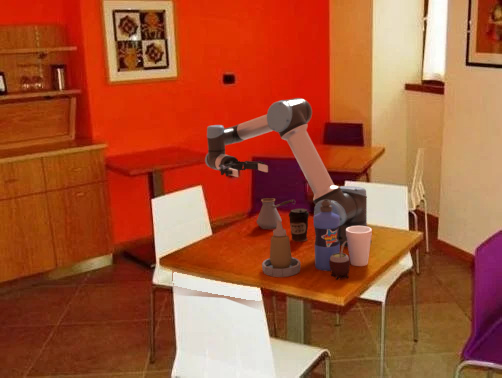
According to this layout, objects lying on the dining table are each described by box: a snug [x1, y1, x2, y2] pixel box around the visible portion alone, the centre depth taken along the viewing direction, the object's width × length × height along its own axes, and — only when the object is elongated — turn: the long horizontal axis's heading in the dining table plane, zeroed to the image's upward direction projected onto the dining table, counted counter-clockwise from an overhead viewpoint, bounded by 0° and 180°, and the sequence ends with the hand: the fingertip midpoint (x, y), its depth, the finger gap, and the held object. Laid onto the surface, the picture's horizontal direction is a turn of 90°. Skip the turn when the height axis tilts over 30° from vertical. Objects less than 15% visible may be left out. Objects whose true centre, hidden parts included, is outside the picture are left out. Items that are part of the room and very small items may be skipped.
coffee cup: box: [288, 208, 310, 242], centre depth 253 cm, size 9×8×13 cm
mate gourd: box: [329, 240, 351, 281], centre depth 209 cm, size 8×8×15 cm
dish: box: [261, 256, 302, 278], centre depth 220 cm, size 14×14×3 cm
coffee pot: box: [256, 197, 296, 230], centre depth 270 cm, size 21×12×15 cm, turn 45°
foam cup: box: [346, 226, 373, 267], centre depth 222 cm, size 10×9×13 cm
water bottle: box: [312, 200, 341, 272], centre depth 219 cm, size 9×9×25 cm
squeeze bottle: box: [269, 219, 293, 269], centre depth 218 cm, size 8×8×18 cm
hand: (252, 171), depth 240 cm, fingers open, 13 cm apart
